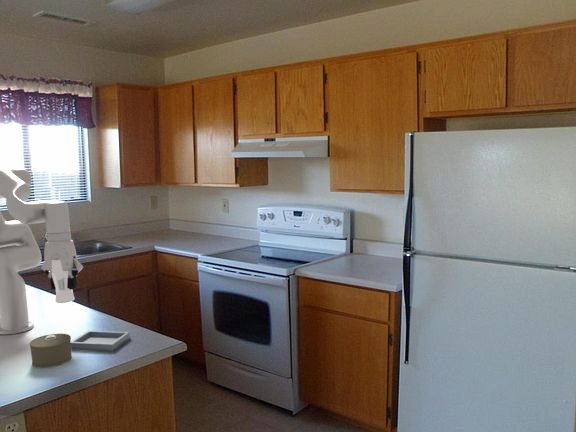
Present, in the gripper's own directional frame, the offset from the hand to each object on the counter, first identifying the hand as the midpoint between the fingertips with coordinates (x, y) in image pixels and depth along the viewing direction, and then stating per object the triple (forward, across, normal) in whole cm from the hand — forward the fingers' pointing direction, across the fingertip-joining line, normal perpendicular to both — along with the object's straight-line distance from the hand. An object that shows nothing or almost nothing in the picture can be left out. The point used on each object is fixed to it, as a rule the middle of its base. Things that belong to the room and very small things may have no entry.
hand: (64, 288), depth 179 cm
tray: (+20, +12, 0) cm, 23 cm away
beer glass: (+5, 0, 0) cm, 5 cm away
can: (+20, +4, -15) cm, 25 cm away
